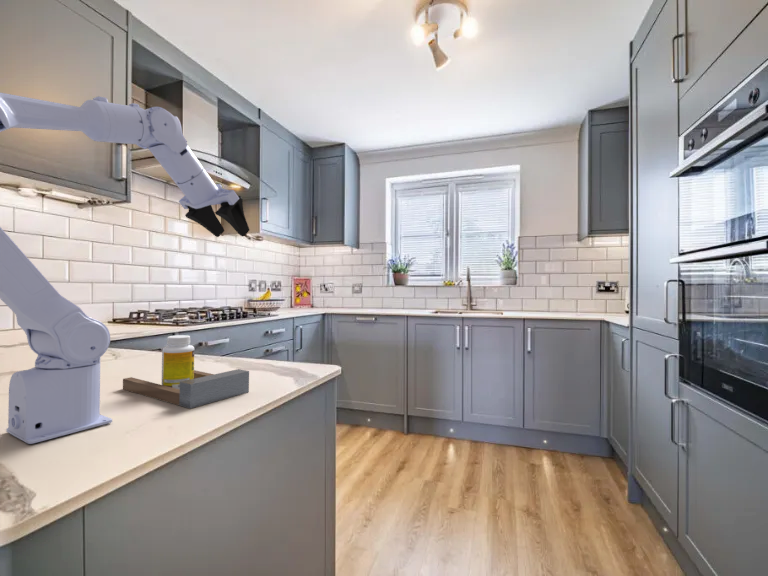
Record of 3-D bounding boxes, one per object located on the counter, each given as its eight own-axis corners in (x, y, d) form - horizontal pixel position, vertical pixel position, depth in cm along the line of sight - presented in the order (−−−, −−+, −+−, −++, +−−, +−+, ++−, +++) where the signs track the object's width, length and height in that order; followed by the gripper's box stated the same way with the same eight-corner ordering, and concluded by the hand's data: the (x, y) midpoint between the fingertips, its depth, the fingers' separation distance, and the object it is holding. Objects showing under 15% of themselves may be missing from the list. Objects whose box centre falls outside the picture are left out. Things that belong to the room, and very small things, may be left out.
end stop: (190, 408, 63) (190, 384, 63) (179, 405, 65) (179, 381, 65) (248, 391, 74) (249, 371, 74) (238, 389, 75) (238, 369, 75)
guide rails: (179, 405, 65) (179, 393, 65) (122, 389, 74) (122, 378, 74) (238, 389, 75) (238, 379, 75) (182, 376, 84) (182, 367, 84)
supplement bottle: (197, 389, 75) (198, 337, 75) (164, 394, 71) (165, 339, 71) (190, 383, 79) (190, 333, 79) (159, 387, 75) (160, 335, 75)
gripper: (229, 159, 69) (268, 220, 78) (180, 167, 76) (221, 222, 85) (204, 181, 65) (248, 242, 74) (154, 188, 72) (200, 243, 81)
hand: (232, 233), depth 79 cm, fingers open, 7 cm apart
